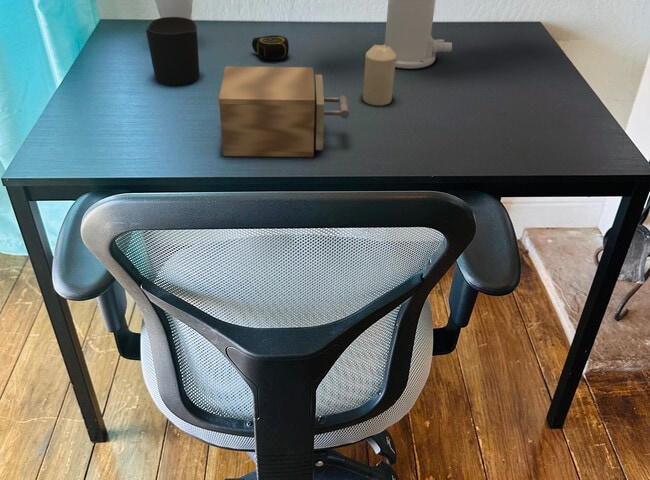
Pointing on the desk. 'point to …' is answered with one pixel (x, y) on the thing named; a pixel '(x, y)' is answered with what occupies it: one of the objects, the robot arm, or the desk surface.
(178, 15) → the cup
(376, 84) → the candle
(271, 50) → the tape measure
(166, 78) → the pen holder
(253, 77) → the cabinet
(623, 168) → the desk surface
